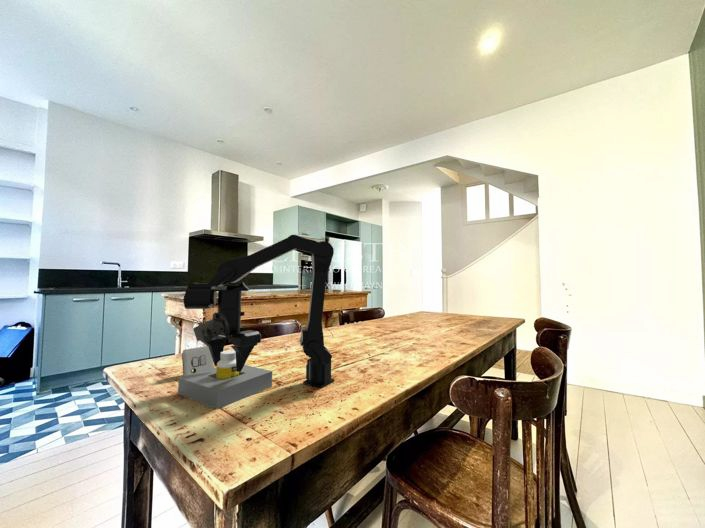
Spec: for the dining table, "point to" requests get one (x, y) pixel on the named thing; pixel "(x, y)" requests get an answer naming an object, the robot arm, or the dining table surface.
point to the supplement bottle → (227, 365)
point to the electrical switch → (196, 360)
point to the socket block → (224, 386)
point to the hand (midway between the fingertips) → (227, 368)
